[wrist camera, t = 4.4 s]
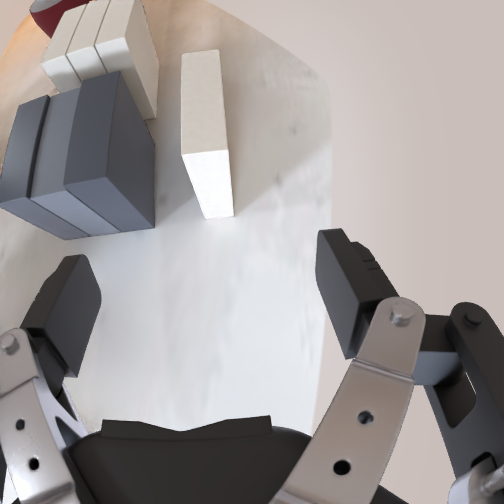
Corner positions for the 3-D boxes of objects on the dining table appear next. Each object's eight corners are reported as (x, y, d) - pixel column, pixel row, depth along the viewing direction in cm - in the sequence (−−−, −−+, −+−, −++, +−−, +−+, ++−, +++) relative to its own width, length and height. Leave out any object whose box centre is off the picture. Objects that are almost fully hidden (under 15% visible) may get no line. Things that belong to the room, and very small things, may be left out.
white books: (89, 132, 30) (39, 64, 18) (99, 77, 32) (64, 10, 20) (156, 118, 30) (124, 37, 19) (160, 64, 32) (138, -12, 20)
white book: (205, 219, 28) (180, 155, 16) (200, 138, 30) (181, 52, 18) (234, 216, 28) (228, 149, 17) (226, 135, 30) (219, 47, 18)
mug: (116, 11, 35) (101, -35, 25) (118, 37, 33) (98, -15, 23) (57, 37, 34) (34, -4, 24) (52, 65, 32) (24, 21, 23)
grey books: (64, 240, 28) (-7, 204, 16) (71, 160, 29) (17, 103, 18) (154, 228, 28) (106, 177, 17) (154, 143, 30) (120, 69, 19)
